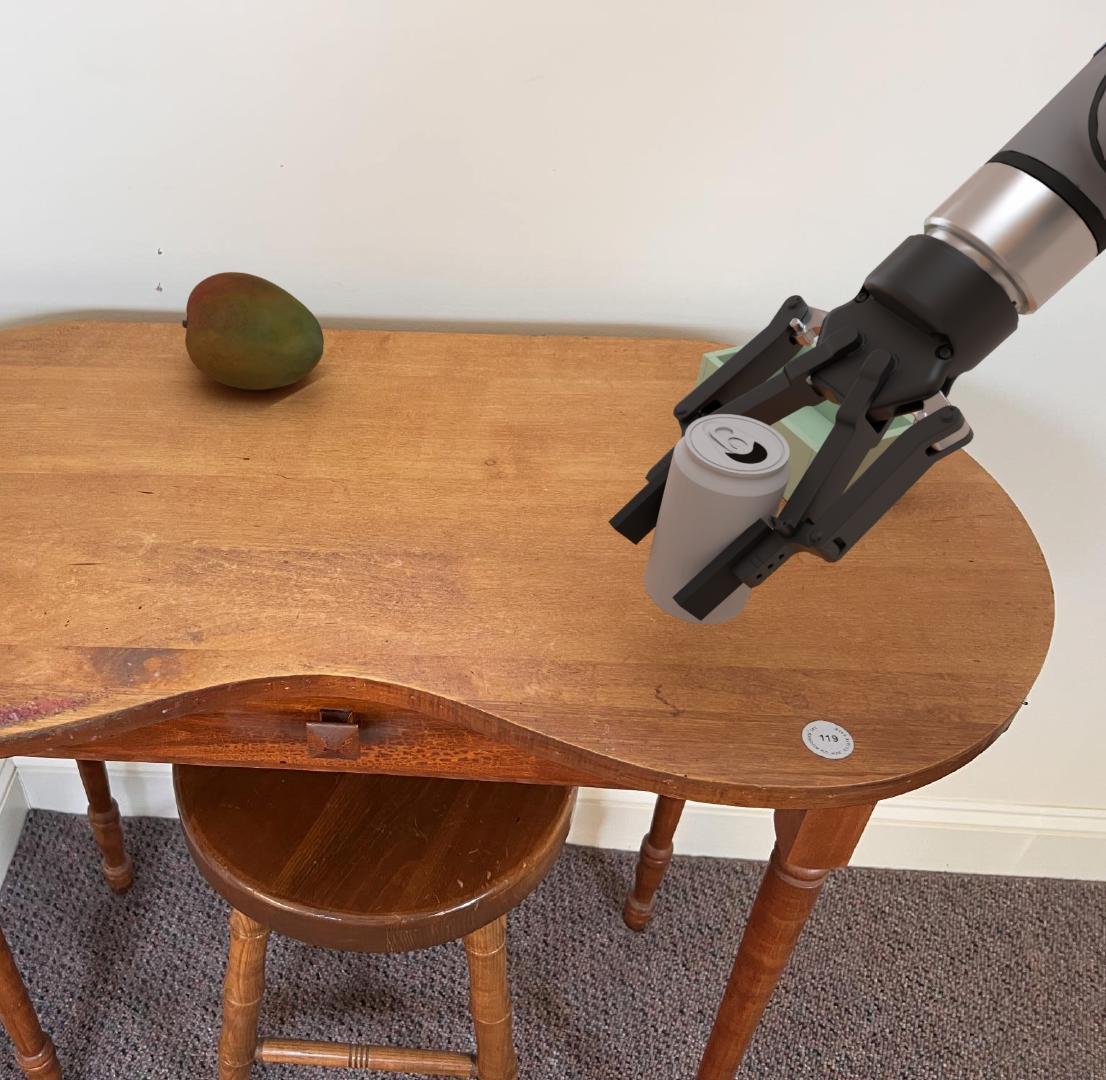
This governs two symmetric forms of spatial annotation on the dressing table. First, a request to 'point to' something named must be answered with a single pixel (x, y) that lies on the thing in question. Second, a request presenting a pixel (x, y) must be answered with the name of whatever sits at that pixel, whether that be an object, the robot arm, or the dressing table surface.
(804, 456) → the bin
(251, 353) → the fruit
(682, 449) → the beverage can
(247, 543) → the dressing table surface
